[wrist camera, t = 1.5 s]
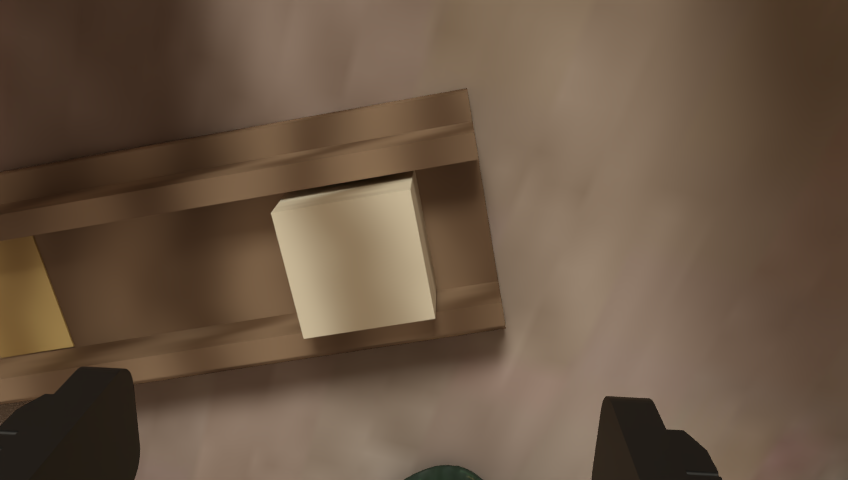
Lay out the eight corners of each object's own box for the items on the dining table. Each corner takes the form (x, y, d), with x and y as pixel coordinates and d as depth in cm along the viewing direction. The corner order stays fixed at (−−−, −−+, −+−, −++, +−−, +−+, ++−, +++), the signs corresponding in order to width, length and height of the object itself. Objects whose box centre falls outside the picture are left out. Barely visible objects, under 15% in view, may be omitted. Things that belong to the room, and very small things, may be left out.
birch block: (414, 166, 35) (410, 189, 31) (436, 283, 37) (435, 318, 33) (289, 187, 35) (270, 213, 32) (317, 302, 37) (303, 338, 34)
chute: (466, 88, 34) (469, 99, 31) (504, 321, 38) (509, 351, 35) (-96, 189, 37) (-145, 208, 34) (-7, 398, 41) (-44, 434, 38)
